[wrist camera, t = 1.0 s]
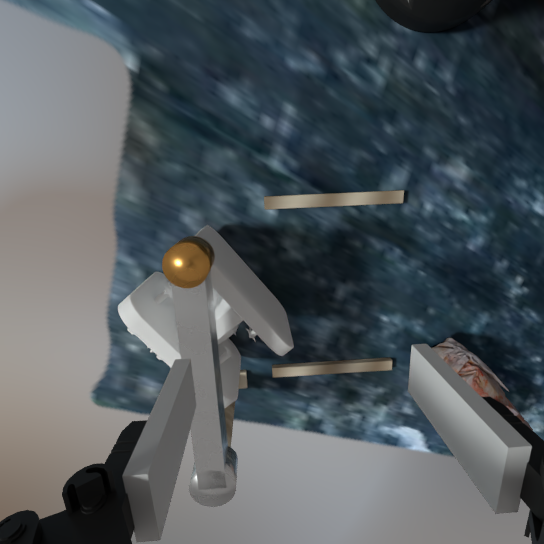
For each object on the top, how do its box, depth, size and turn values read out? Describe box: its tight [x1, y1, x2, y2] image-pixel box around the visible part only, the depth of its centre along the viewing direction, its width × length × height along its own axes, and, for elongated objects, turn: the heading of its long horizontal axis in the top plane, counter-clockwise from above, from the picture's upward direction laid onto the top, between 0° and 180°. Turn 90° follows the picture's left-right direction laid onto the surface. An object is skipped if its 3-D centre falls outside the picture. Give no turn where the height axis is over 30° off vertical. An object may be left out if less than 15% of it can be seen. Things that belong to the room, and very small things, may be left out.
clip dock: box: [224, 190, 404, 447], centre depth 35 cm, size 24×25×13 cm
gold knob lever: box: [162, 236, 238, 507], centre depth 27 cm, size 4×24×3 cm, turn 3°
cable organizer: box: [118, 225, 294, 409], centre depth 35 cm, size 15×11×12 cm
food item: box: [431, 338, 533, 431], centre depth 41 cm, size 14×8×10 cm, turn 45°
